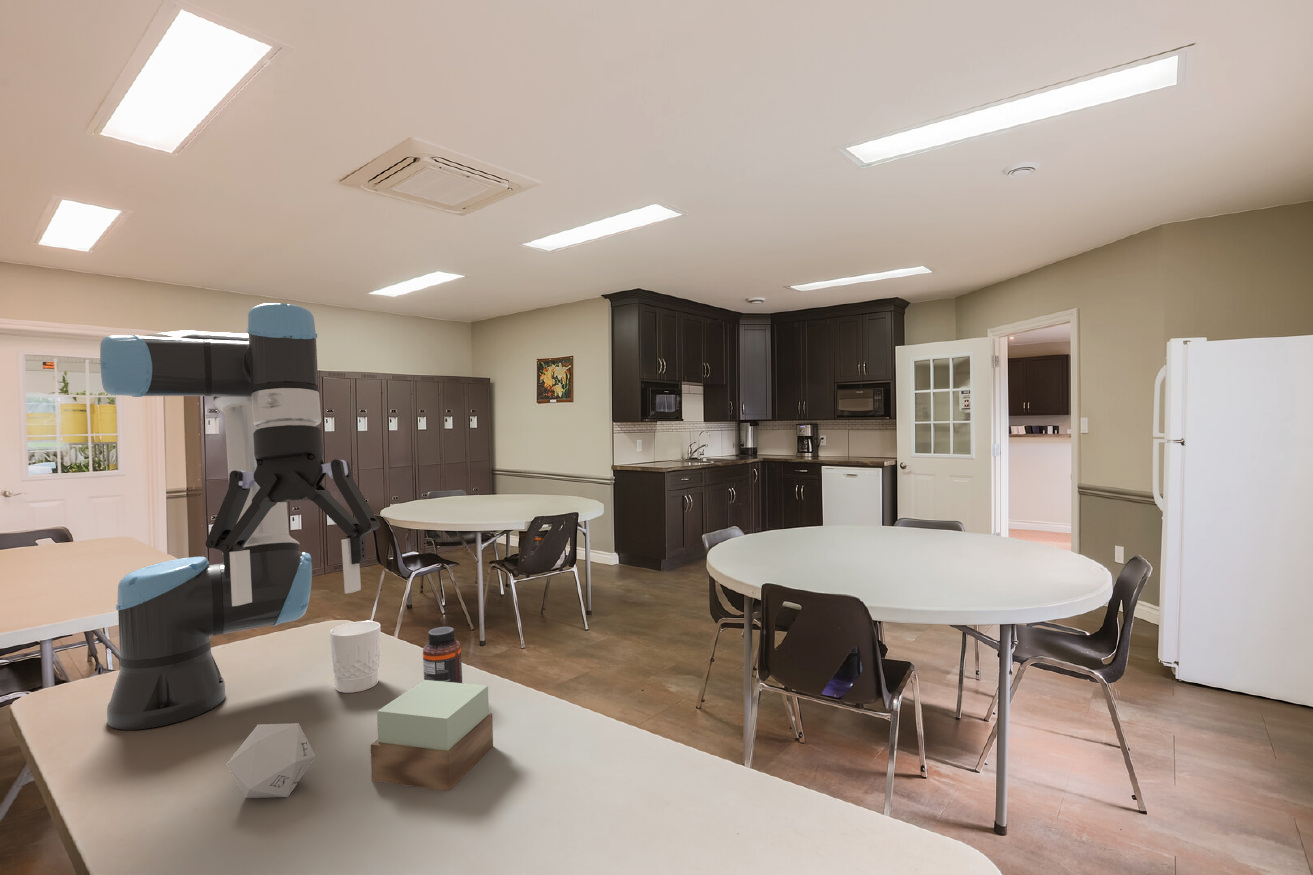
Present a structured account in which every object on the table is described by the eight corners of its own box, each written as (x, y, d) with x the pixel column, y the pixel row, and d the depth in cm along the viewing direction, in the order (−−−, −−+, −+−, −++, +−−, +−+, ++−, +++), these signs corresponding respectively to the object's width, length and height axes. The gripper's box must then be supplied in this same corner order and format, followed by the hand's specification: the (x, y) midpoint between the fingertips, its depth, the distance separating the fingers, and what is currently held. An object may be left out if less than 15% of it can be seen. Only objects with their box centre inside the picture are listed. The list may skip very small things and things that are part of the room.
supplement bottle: (453, 687, 109) (451, 621, 109) (469, 698, 105) (467, 629, 105) (418, 698, 105) (416, 630, 105) (433, 710, 101) (431, 638, 101)
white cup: (366, 672, 117) (364, 618, 117) (391, 682, 112) (389, 625, 112) (322, 687, 111) (321, 630, 110) (347, 698, 106) (345, 638, 106)
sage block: (378, 742, 82) (377, 710, 82) (425, 707, 91) (424, 679, 91) (447, 750, 79) (447, 718, 79) (488, 714, 89) (488, 685, 89)
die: (253, 826, 73) (308, 746, 76) (196, 783, 75) (253, 706, 78) (290, 811, 81) (340, 738, 84) (239, 772, 83) (289, 702, 85)
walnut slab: (371, 783, 81) (370, 744, 81) (423, 740, 92) (421, 706, 92) (449, 793, 79) (448, 753, 79) (493, 748, 89) (492, 712, 89)
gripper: (166, 435, 77) (173, 614, 75) (374, 412, 78) (386, 590, 76) (209, 440, 85) (216, 604, 83) (398, 420, 85) (410, 582, 83)
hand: (297, 598), depth 79 cm, fingers open, 13 cm apart
